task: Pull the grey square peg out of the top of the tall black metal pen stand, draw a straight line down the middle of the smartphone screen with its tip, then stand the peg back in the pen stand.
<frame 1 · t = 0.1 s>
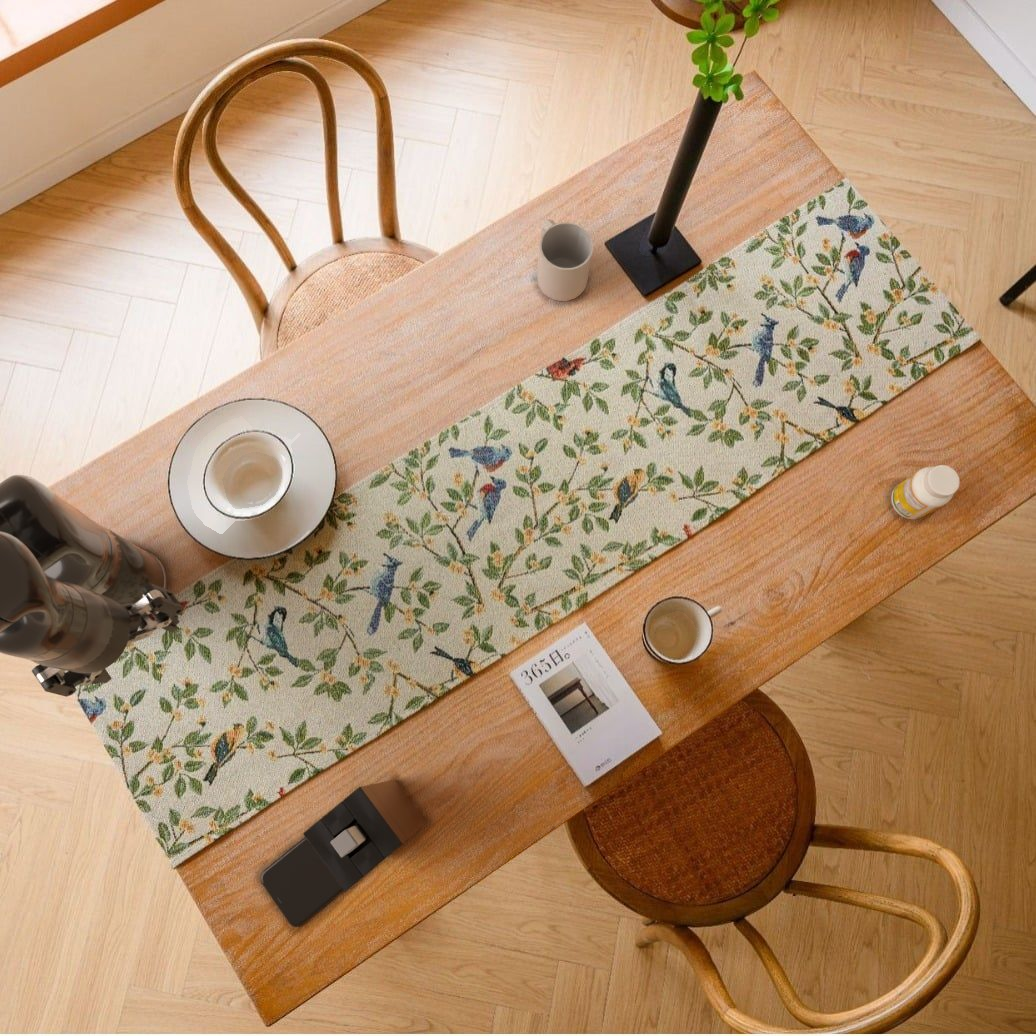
hand: (137, 648, 99), 17 cm above the table, tool pointing down, fingers open, 8 cm apart
supplement bottle: (909, 501, 123), on the table
grey square peg: (352, 838, 82), in the holder, point 30 cm above the table
smartphone: (331, 857, 110), on the table
holder: (360, 834, 87), on the table
cup: (557, 272, 131), on the table
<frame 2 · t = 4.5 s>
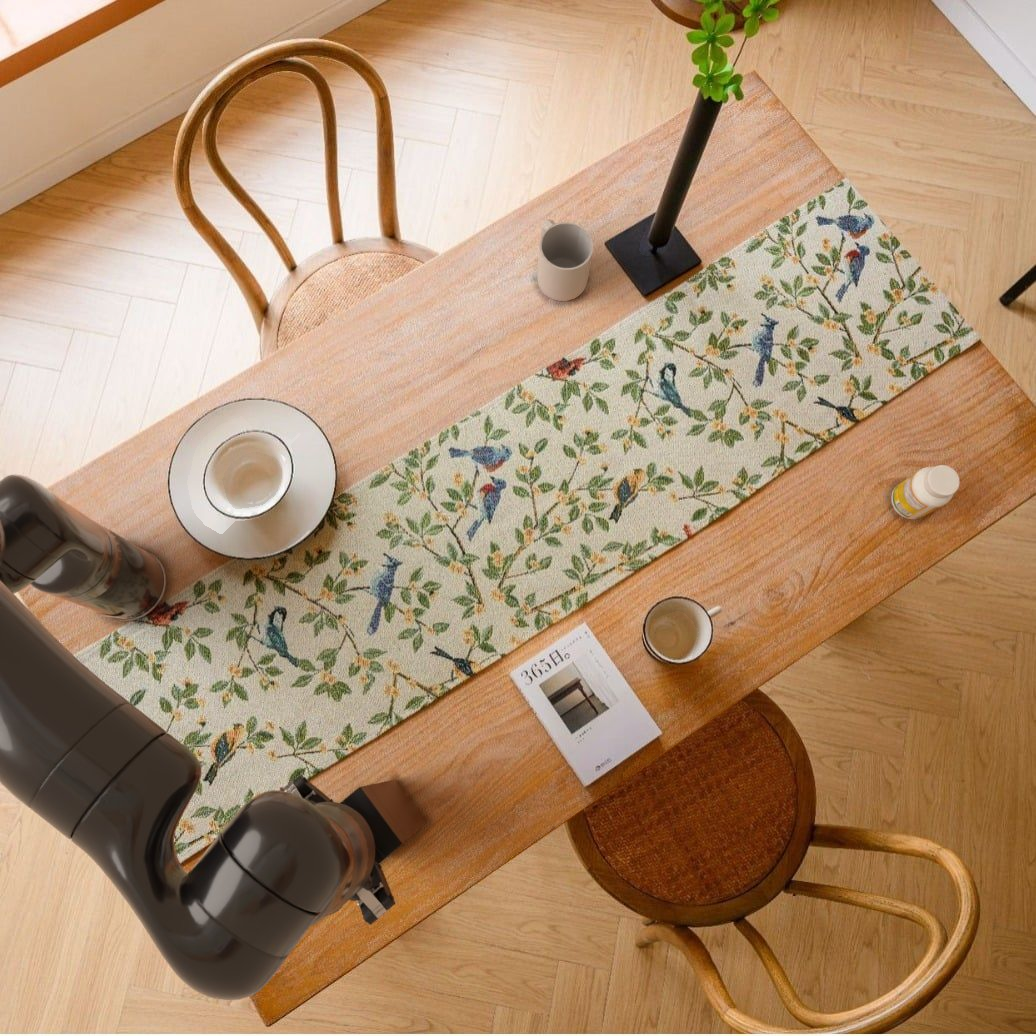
hand: (352, 838, 82), 30 cm above the table, tool pointing down, fingers closed on grey square peg
grey square peg: (353, 838, 82), in the holder, point 30 cm above the table, touching gripper
everything else where it was.
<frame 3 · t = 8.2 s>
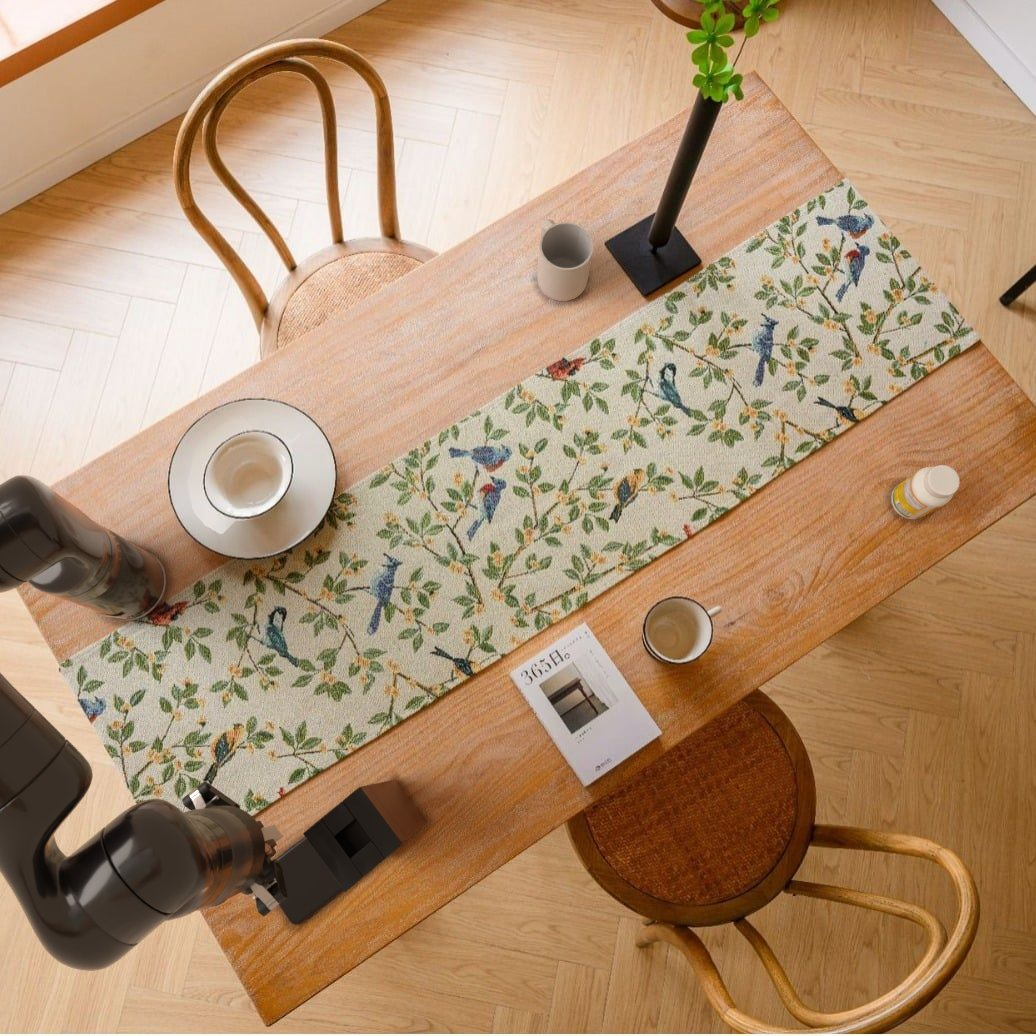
hand: (260, 839, 90), 21 cm above the table, tool pointing down, fingers closed on grey square peg, 1 cm apart
grey square peg: (260, 839, 90), point 21 cm above the table, touching gripper
everything else where it was.
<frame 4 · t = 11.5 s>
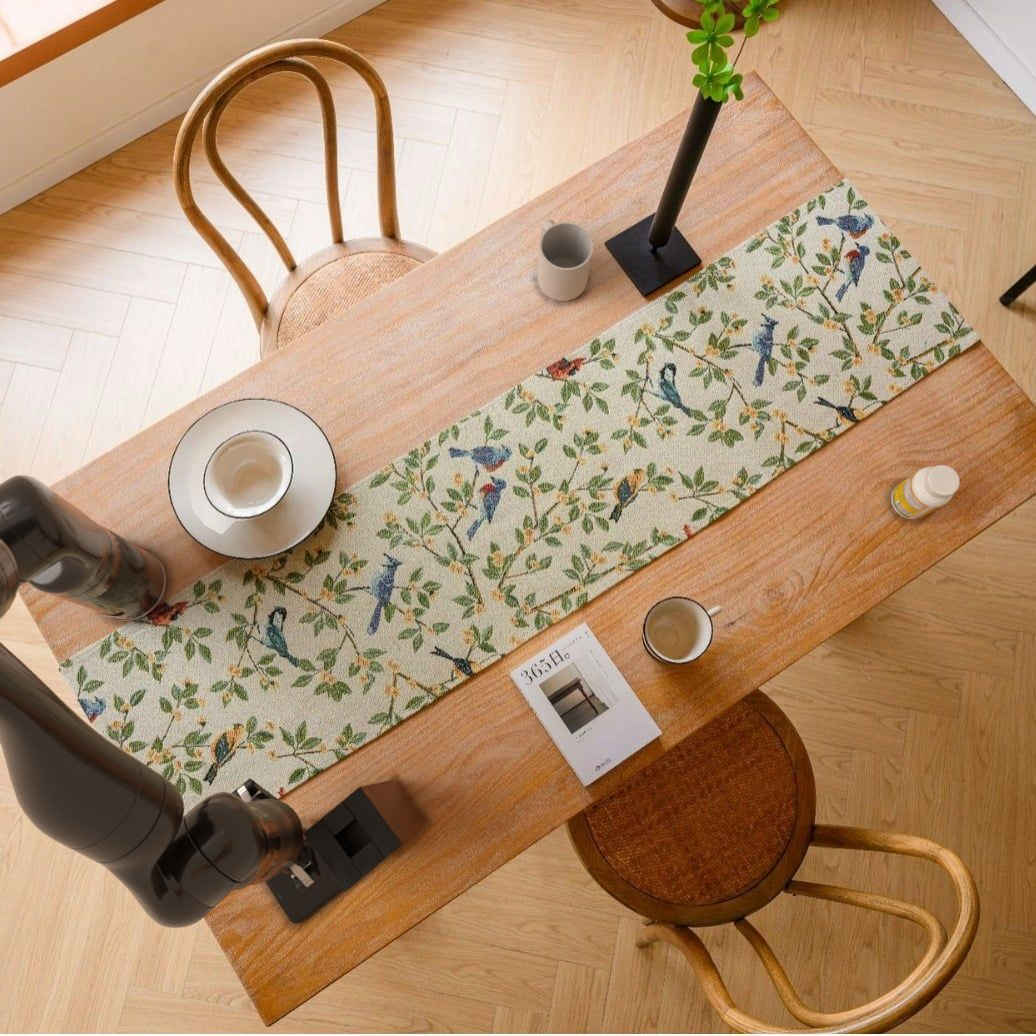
hand: (294, 828, 105), 6 cm above the table, tool pointing down, fingers closed on grey square peg, 1 cm apart
grey square peg: (294, 828, 105), point 6 cm above the table, touching gripper
everything else where it was.
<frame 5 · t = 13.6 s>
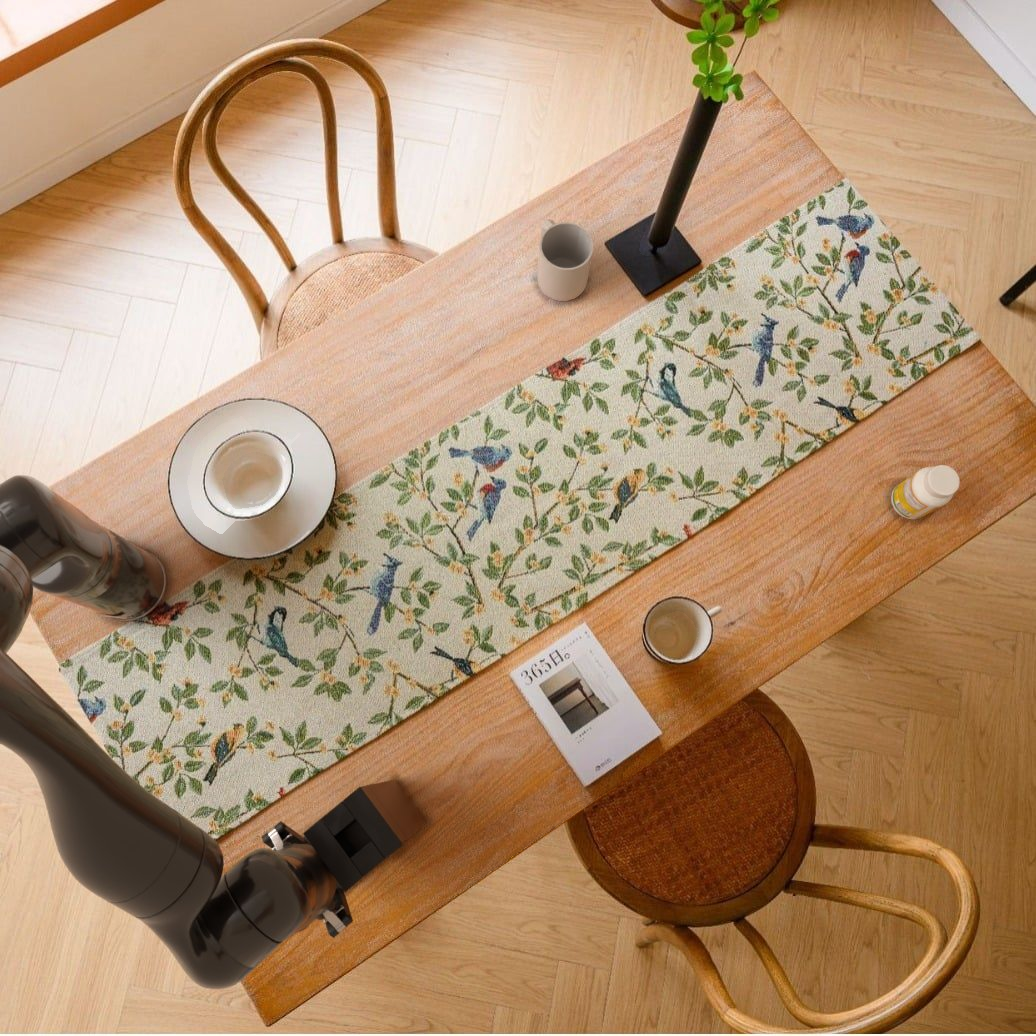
hand: (323, 868, 104), 6 cm above the table, tool pointing down, fingers closed on grey square peg, 1 cm apart
grey square peg: (323, 868, 104), point 6 cm above the table, touching gripper
everything else where it was.
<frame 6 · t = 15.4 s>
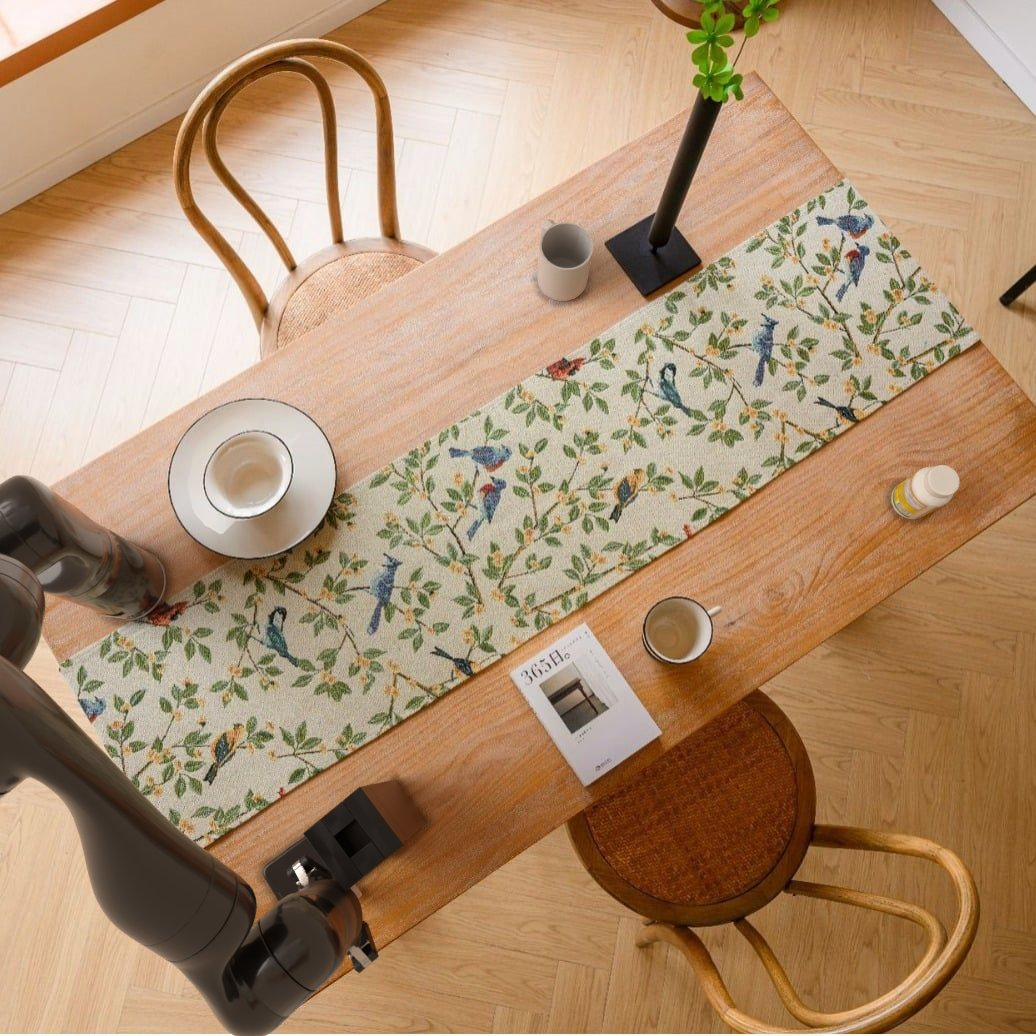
hand: (346, 899, 103), 6 cm above the table, tool pointing down, fingers closed on grey square peg, 1 cm apart
grey square peg: (346, 899, 103), point 6 cm above the table, touching gripper
everything else where it was.
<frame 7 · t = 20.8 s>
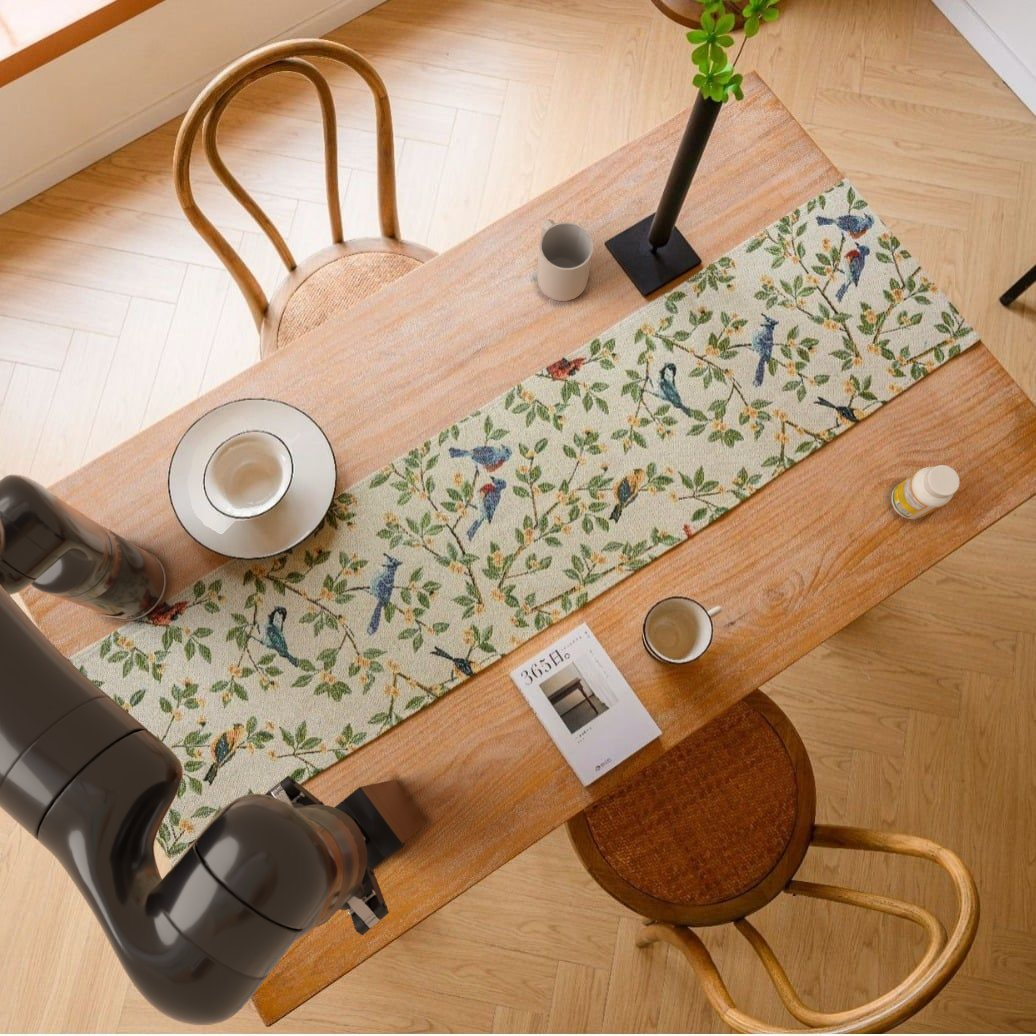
hand: (344, 842, 78), 35 cm above the table, tool pointing down, fingers closed on grey square peg, 1 cm apart
grey square peg: (344, 843, 78), point 34 cm above the table, touching gripper
everything else where it was.
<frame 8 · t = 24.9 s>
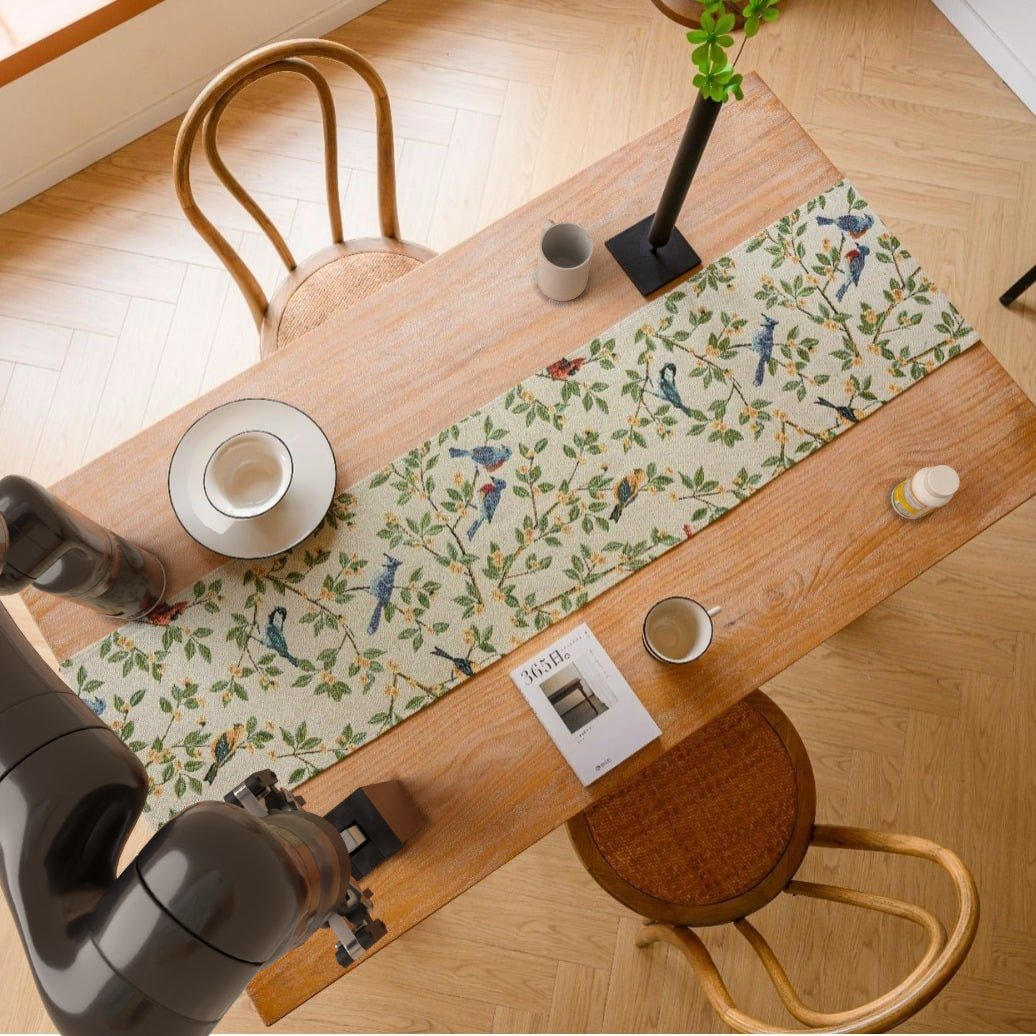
hand: (326, 853, 69), 43 cm above the table, tool pointing down, fingers open, 8 cm apart
grey square peg: (352, 838, 82), in the holder, point 30 cm above the table
everything else where it was.
at the end: grey square peg 0.0 cm off-centre on the holder, point 5.0 cm above the holder's base; grey square peg tilted 0°; smartphone moved 0.9 cm from its start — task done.
